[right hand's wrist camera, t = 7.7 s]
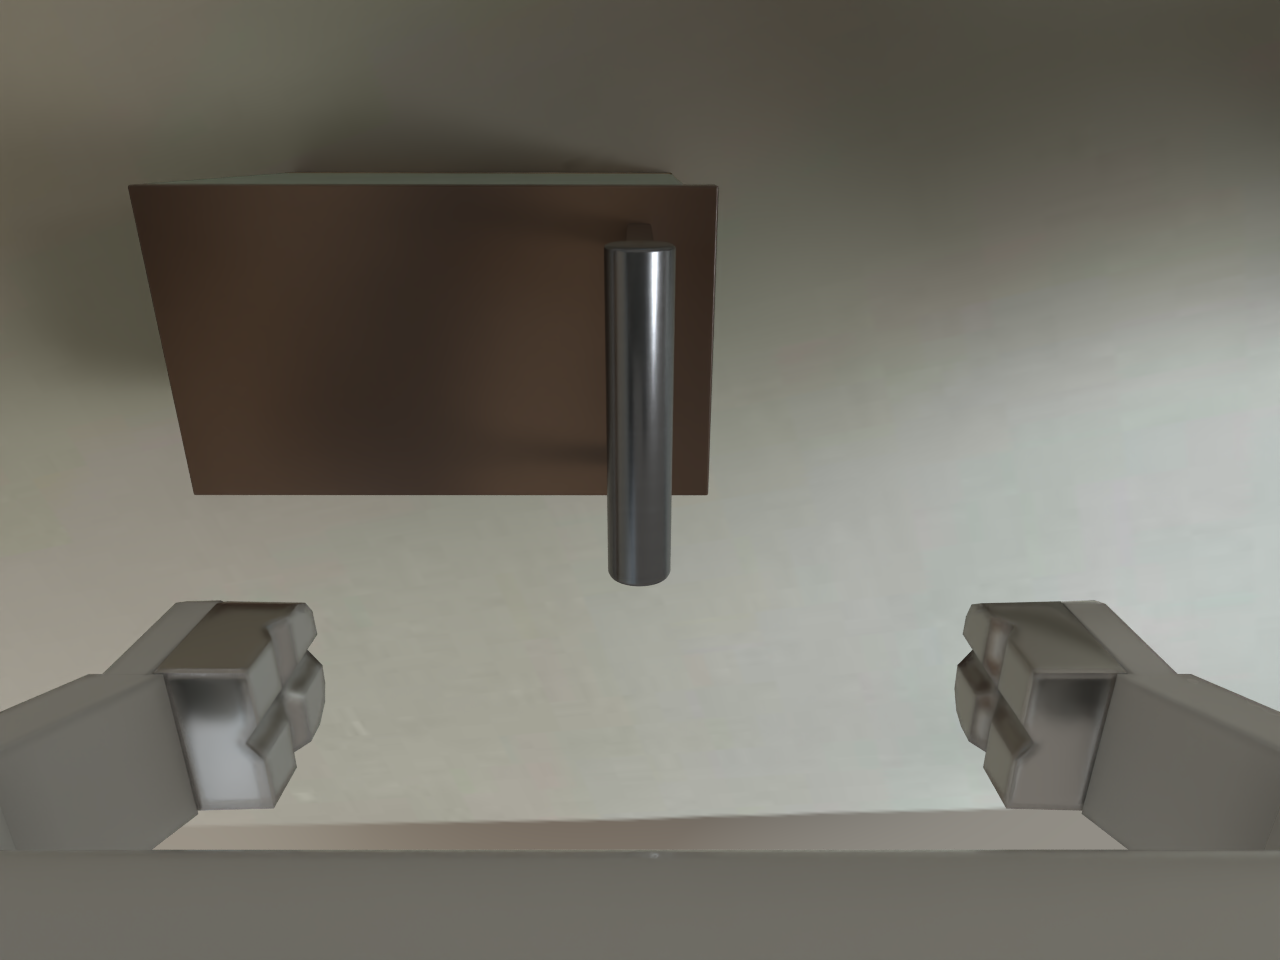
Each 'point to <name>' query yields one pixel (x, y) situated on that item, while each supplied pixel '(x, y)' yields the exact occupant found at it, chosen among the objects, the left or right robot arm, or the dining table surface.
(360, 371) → the lid
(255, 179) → the chest
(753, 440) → the dining table surface
